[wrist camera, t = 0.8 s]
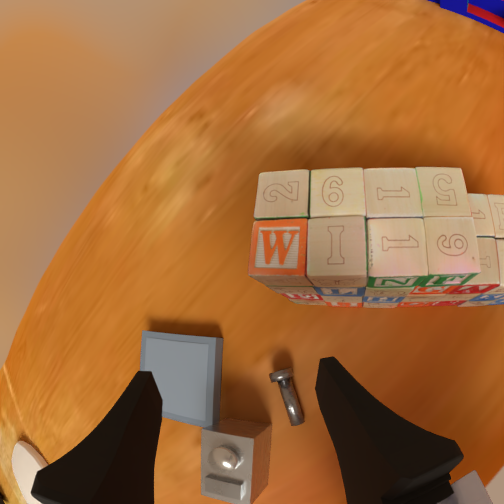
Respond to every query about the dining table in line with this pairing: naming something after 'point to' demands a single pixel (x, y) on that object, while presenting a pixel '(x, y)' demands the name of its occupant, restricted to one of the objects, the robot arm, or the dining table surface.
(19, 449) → the decorative plate
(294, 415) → the loose bolt
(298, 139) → the dining table surface
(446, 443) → the robot arm
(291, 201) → the stack of blocks
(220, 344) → the stand
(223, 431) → the housing
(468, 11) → the building blocks toy
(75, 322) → the dining table surface
